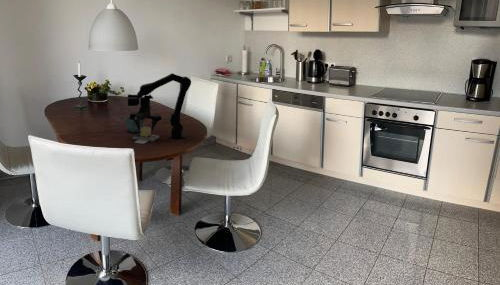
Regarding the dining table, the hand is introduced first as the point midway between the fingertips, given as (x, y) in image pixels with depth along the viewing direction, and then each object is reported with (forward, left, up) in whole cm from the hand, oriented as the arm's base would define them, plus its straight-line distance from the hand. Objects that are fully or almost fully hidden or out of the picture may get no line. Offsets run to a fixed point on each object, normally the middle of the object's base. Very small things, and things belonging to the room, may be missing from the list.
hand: (145, 130), depth 231 cm
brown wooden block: (0, 0, -5) cm, 5 cm away
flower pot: (+14, -12, -6) cm, 19 cm away
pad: (-1, +8, -5) cm, 9 cm away
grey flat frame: (0, 0, -5) cm, 5 cm away
